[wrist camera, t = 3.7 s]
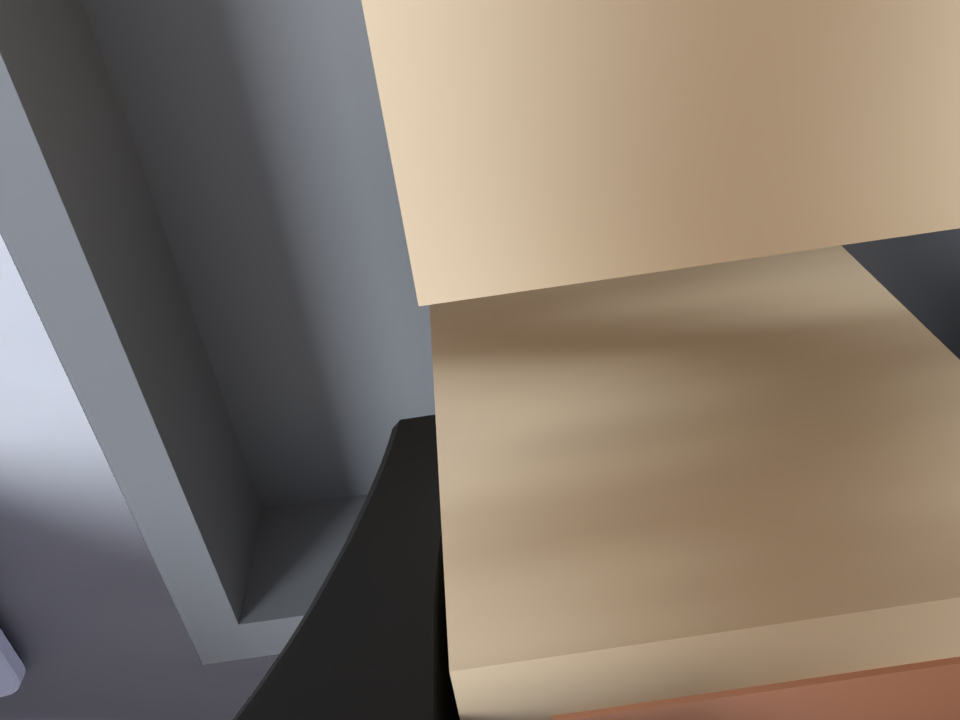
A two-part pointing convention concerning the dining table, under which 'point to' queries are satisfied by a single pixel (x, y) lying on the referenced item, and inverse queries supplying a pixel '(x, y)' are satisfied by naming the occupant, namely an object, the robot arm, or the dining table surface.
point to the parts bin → (243, 280)
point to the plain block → (660, 132)
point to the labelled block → (700, 498)
